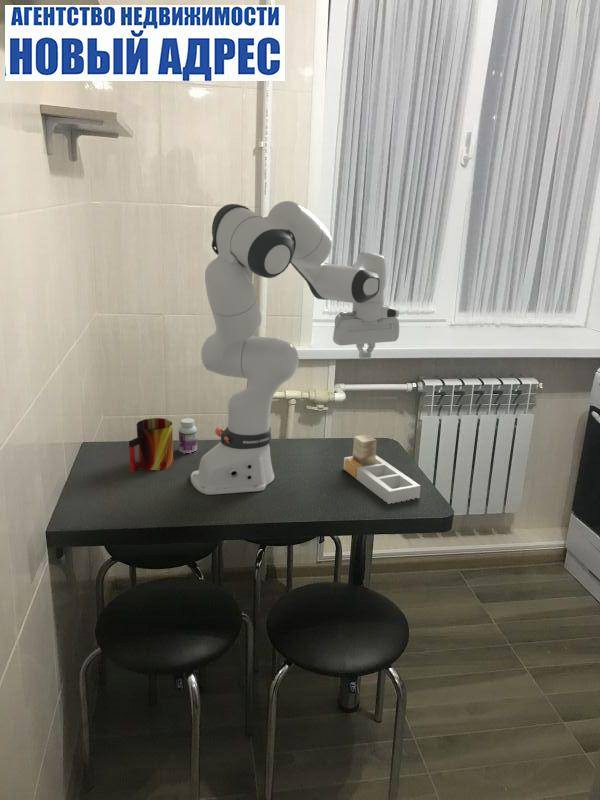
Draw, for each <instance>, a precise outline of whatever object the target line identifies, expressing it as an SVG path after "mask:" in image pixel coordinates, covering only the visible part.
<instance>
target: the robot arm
mask: <svg viewBox="0 0 600 800" xmlns="http://www.w3.org/2000/svg"><path fill="white" fill-rule="evenodd" d="M211 237H212V240H211V241H212V242H211V247H212V248H211V249H212V251H213V252H214V253H215V254H216V255H217V257H215V258H214V259H213V260H211V261H210V262H209V264H208V265H207V267H206V269H205V272H204V283H205V290H206V295H207V299H208V300H207V301H208V303H209V307H210V310H211V313H212V316H213V320H214V324H215V331H214V333H213V334H211V335H209V337H207V338H206V339H205V341H204V342H203V345H202V346H201V351H200V352H201V353H200V355H201V357H200V358H201V360H202V361H201V362H202V364H203V366H204V367H205V369H206V370H207V371H209V372H212V373H215V374H218V375H220V376H223V377H232V378H242V379H246V380H247V381H248V385H247V388H244V389H241V390H239V391H237V392H235V393H234V394H232V395H231V396H230V398H229V400H228V402H227V427H226V428H225V429H224V430H223V429H222V428H221V427H216V428H215V431H214V432H215V435H217V437H219V438H220V442H218V443H217V444H216V445H215V446H214V447H212V448H211V449H210V450H208V451H207V452H205V453H204V454H203V455H202V457H201V458H200V462H199V468H198V470H194V471H192V472H191V474H190V482H191V484H192V486H193V487H194V488H195V489H196V490H197V491H198V492H200V493H202V494H204V495H222V494H223V495H224V494H236V493H238V494H239V493H250V492H261V491H264V490H265V489H266V487H267V486H268V485H269V484H270V483H271V484H272V482H273V481H274V480H275V473H274V469H273V464H272V458H271V445H272V428H271V425H270V423H271V421H270V419H271V418H270V417H271V407H272V402H273V399H274V396H275V393H276V392H277V390H278V389H279V388H281V386H282V385H283V384H284V383H285V382H287V381H289V380H290V379H291V378H293V376H294V375H296V372H297V370H298V367H299V362H300V361H299V359H300V358H299V353H298V351H297V349H296V346H295V345H294V344H293V343H291V342H288V341H286V340H282V339H279V338H274V337H264V336H255V335H254V334H256V332H257V331H258V330H259V329H260V327H261V323H262V314H261V309H260V306H259V302H258V297H257V294H256V293H257V292H256V290H255V286H254V284H253V275H254V274H255V275H256V276H259V277H263V278H266V279H273V278H276V277H278V276H279V275H281V274H282V273H284V272H285V271H286V270H287V268H288V267H289V265H290V264H291V266H292V267H293V268H294V269H295V270H296V272H297V273H298V274H299V275H300V276H301V277H302V278H303V280H304V281H305V282H306V283H307V285H308V287H309V290H310V292H311V293H312V295H313V297H314V298H316V299H317V300H324V301H325V300H326V301H327V300H328V301H330V300H331V301H336V302H337V301H338V302H343V303H350V304H352V308H351V309H352V310H351V311H346V312H345V311H342V312H340V313H337V315H336V316H335V318H334V329H333V336H332V340H333V342H334V343H335V345H338V346H353V345H354V346H356V348H357V351H358V352H359V356H358V357H359V359H361V360H363V359H371V358H372V357H371V356H372V352H373V351H374V349H375V347H376V344H377V343H378V344H379V343H380V344H381V343H388V342H389V343H390V342H392V343H393V342H397V340H398V339H399V336H400V321H399V319H398V317H399V314H400V311H399V310H398V309H396V308H393V307H390V306H389V305H386V304H385V297H384V291H385V288H386V282H387V280H386V279H387V266H386V264H387V263H386V259H385V257H384V256H383V255H382V254H379V253H374V252H367V251H365V252H364V251H363V252H360V253H359V252H358V255H357V257H356V261H355V262H354V263H353V264H351V266H350V265H341V264H334V263H333V264H331V263H328V262H325V261H326V260H327V258H328V257H329V255H330V254H331V250H332V245H333V244H332V243H333V240H332V235H331V234H330V231H329V230H328V228H327V227H326V226H325V225H324V224H323V223H322V222H321V220H319V219H318V217H316V216H315V215H314V214H313V213H312V212H311V211H309V210H308V209H306V208H305V207H303V206H302V205H300V204H298V203H297V202H294V201H291V200H285V201H280V202H278V203H277V204H275V205H274V206H273V207H272V208H271V209H270V210H269V212H268V214H267V216H264V217H263V216H262V215H260V214H258V213H256V212H254V211H253V210H251V209H250V208H248V207H247V206H246V205H242V204H238V203H230V204H229V203H228V204H226V205H224V206H222V207H221V208H220V209H219V210H218V211H217V212H216V214H215V216H214V217H213V220H212V224H211ZM365 344H367V345H366V346H367V348H366V351H364V349H363V348H365Z"/></svg>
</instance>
